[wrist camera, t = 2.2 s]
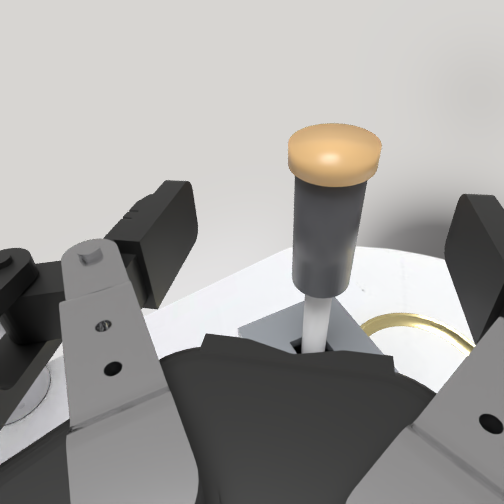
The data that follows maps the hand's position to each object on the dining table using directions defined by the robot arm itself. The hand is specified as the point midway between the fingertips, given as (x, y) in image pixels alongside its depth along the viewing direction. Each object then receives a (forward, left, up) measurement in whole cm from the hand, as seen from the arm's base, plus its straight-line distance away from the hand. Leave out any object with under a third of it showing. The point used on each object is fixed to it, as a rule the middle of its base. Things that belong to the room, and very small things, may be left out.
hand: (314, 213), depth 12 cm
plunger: (-7, +6, -29) cm, 31 cm away
